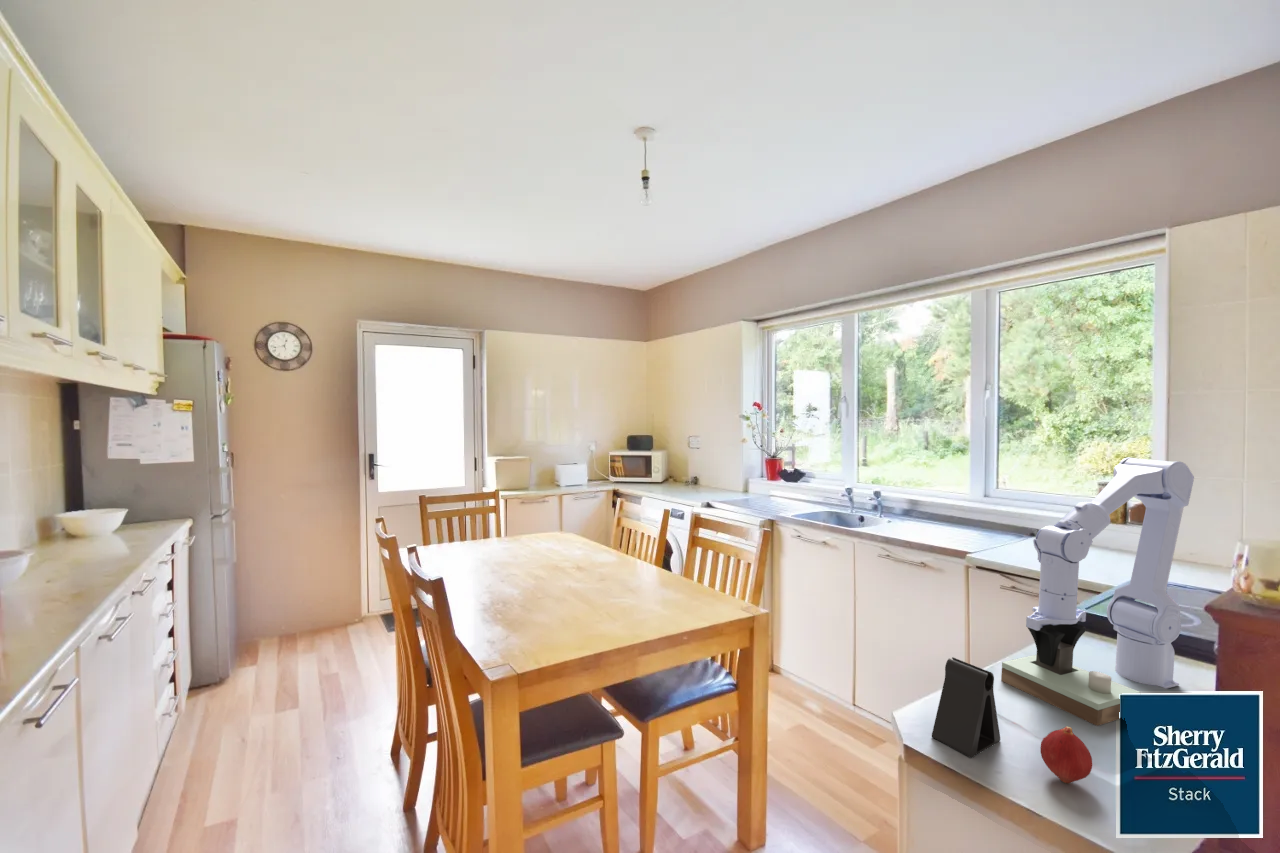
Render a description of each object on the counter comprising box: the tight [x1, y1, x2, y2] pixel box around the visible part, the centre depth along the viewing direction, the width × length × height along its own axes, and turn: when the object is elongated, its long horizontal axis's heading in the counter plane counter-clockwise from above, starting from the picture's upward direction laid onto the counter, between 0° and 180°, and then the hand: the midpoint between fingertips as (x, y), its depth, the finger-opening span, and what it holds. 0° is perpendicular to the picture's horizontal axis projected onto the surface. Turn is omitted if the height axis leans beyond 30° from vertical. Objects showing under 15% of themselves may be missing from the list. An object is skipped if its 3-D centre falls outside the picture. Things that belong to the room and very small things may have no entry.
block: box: [1036, 641, 1075, 675], centre depth 104 cm, size 4×4×8 cm
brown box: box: [1000, 667, 1120, 727], centre depth 100 cm, size 12×16×4 cm
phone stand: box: [931, 656, 1001, 759], centre depth 87 cm, size 9×6×12 cm, turn 121°
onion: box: [1040, 726, 1093, 784], centre depth 78 cm, size 6×6×8 cm
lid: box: [1001, 654, 1141, 710], centre depth 100 cm, size 12×16×4 cm
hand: (1054, 662), depth 104 cm, fingers closed on block, 4 cm apart
